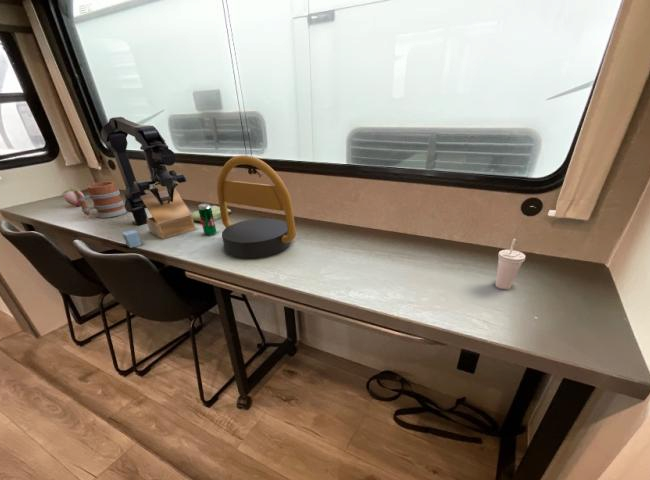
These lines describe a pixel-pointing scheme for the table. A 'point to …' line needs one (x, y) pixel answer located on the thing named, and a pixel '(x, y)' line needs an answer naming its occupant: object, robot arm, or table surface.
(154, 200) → the lid
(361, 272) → the table surface
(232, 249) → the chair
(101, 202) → the mug
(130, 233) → the block
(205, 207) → the soda can
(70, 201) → the decorative fruit
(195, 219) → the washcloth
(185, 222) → the wooden box
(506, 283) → the smoothie
